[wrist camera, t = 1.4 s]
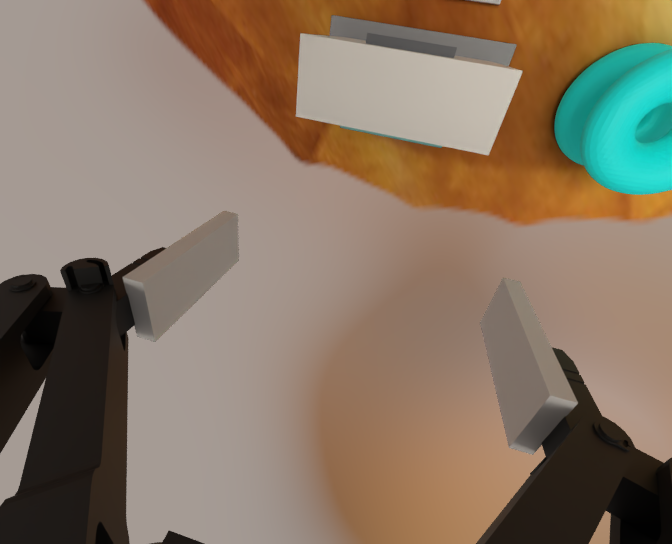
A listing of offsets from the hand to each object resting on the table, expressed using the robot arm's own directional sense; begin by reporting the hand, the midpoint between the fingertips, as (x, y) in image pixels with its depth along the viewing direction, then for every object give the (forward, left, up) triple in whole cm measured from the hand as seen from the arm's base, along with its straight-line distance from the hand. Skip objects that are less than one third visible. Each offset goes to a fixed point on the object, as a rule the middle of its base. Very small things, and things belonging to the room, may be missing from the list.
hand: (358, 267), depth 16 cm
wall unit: (-6, -1, -26) cm, 26 cm away
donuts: (-7, +18, -26) cm, 32 cm away
